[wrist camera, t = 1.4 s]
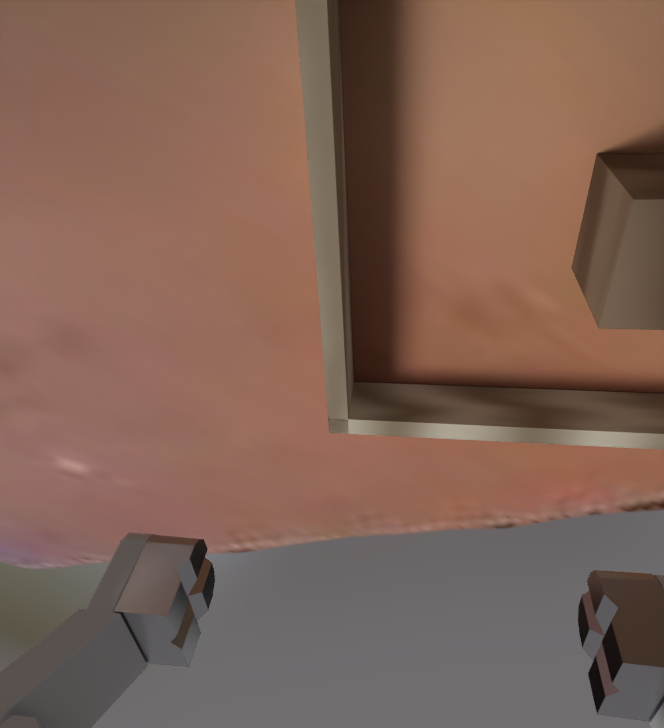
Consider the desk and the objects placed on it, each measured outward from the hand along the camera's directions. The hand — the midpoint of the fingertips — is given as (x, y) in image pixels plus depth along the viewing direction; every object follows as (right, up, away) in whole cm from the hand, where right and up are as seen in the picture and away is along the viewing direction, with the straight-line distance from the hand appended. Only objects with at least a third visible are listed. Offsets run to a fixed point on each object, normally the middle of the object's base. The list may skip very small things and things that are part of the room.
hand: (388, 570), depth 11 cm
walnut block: (+12, +10, +13) cm, 20 cm away
